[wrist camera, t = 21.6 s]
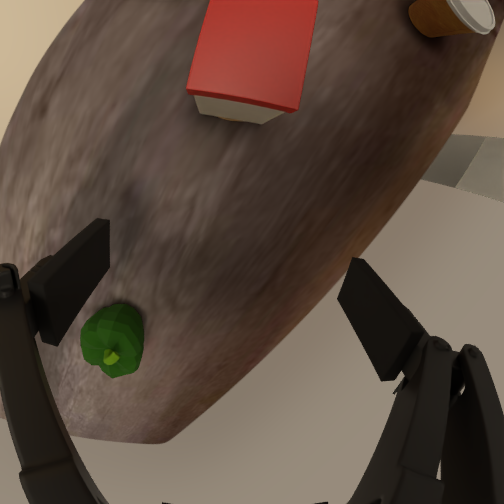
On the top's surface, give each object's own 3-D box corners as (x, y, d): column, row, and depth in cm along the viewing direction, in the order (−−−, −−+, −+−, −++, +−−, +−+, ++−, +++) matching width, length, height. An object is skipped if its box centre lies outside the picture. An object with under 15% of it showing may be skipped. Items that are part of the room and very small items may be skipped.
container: (217, -23, 14) (185, 89, 17) (319, 0, 15) (298, 110, 18) (214, 35, 26) (195, 113, 29) (281, 48, 27) (265, 125, 30)
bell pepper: (114, 349, 38) (96, 397, 29) (86, 303, 35) (58, 346, 26) (162, 336, 38) (152, 386, 29) (135, 286, 35) (115, 330, 26)
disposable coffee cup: (408, -14, 24) (454, -39, 13) (450, 26, 27) (499, 11, 16) (391, 15, 27) (443, -12, 15) (437, 58, 29) (493, 46, 18)
